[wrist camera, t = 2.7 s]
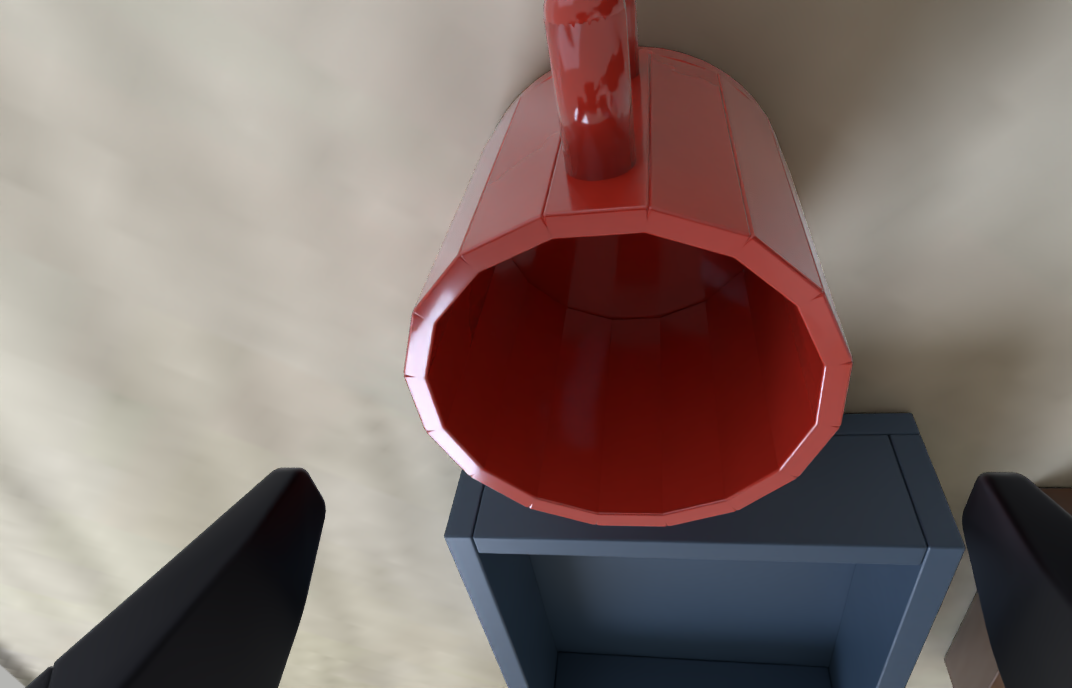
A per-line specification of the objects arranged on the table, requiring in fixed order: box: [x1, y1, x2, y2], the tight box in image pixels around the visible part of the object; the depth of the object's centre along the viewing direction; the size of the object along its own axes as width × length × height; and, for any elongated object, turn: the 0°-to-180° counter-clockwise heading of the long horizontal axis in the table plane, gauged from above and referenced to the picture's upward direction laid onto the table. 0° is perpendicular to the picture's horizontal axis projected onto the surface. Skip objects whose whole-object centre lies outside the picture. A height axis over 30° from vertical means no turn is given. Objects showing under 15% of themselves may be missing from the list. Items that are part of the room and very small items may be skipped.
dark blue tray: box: [444, 413, 965, 688], centre depth 23 cm, size 13×15×4 cm
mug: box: [404, 0, 853, 527], centre depth 12 cm, size 9×7×6 cm
